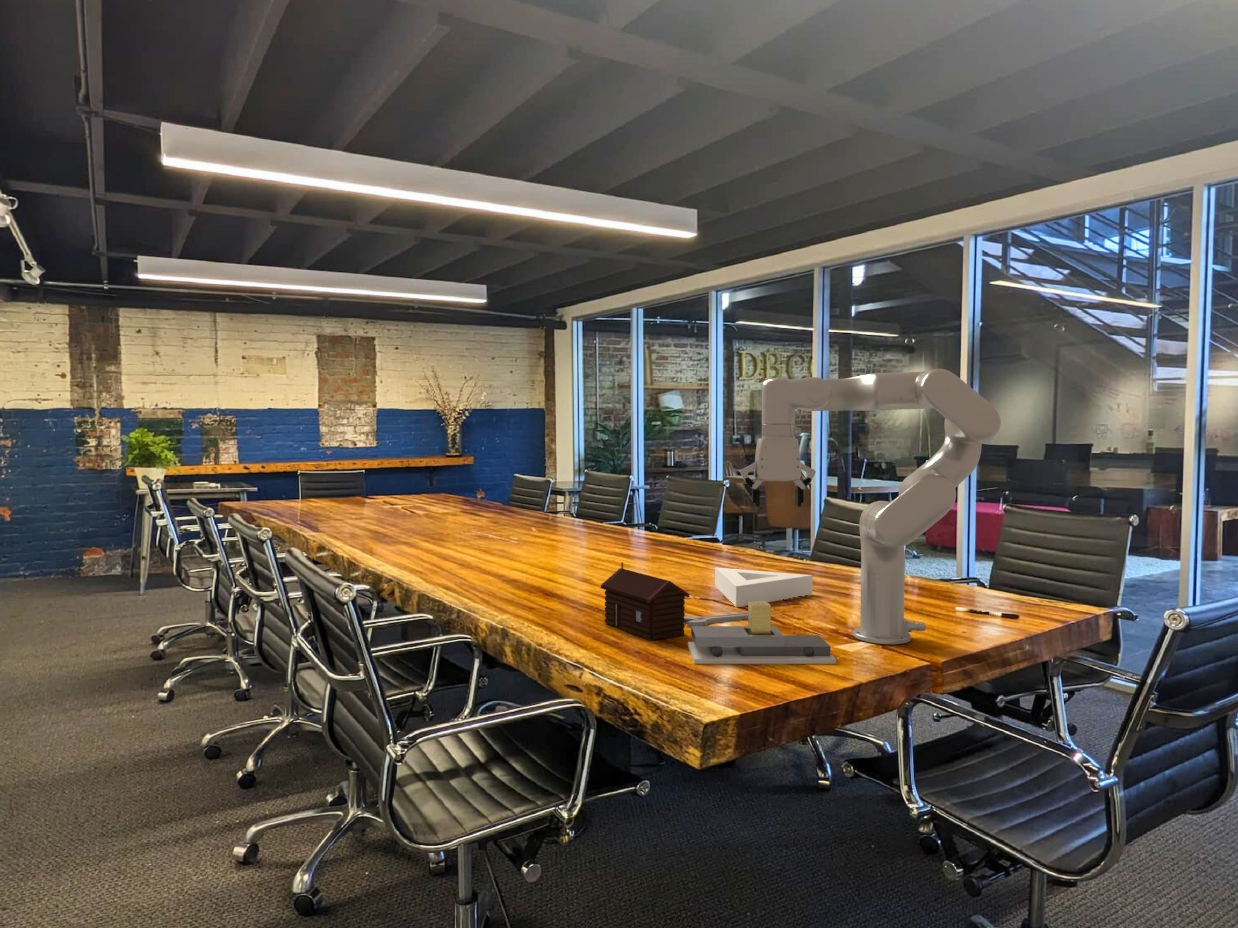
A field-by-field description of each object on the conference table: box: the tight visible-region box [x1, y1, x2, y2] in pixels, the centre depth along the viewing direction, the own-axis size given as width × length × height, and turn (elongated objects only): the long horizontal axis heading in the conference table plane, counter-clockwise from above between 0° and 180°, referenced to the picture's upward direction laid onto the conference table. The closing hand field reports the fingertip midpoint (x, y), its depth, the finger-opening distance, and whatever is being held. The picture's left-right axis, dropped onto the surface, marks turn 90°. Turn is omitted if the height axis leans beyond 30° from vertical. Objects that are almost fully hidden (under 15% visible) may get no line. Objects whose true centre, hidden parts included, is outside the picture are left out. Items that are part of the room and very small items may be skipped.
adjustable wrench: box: [684, 611, 748, 628], centre depth 193 cm, size 25×6×2 cm, turn 110°
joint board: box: [687, 641, 837, 665], centre depth 163 cm, size 29×13×1 cm, turn 90°
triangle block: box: [714, 566, 814, 608], centre depth 227 cm, size 30×26×6 cm
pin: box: [747, 601, 772, 635], centre depth 163 cm, size 4×4×10 cm
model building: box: [600, 561, 690, 641], centre depth 184 cm, size 21×12×15 cm, turn 33°
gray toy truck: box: [690, 625, 832, 657], centre depth 163 cm, size 28×10×4 cm, turn 90°
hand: (777, 506), depth 177 cm, fingers open, 9 cm apart
